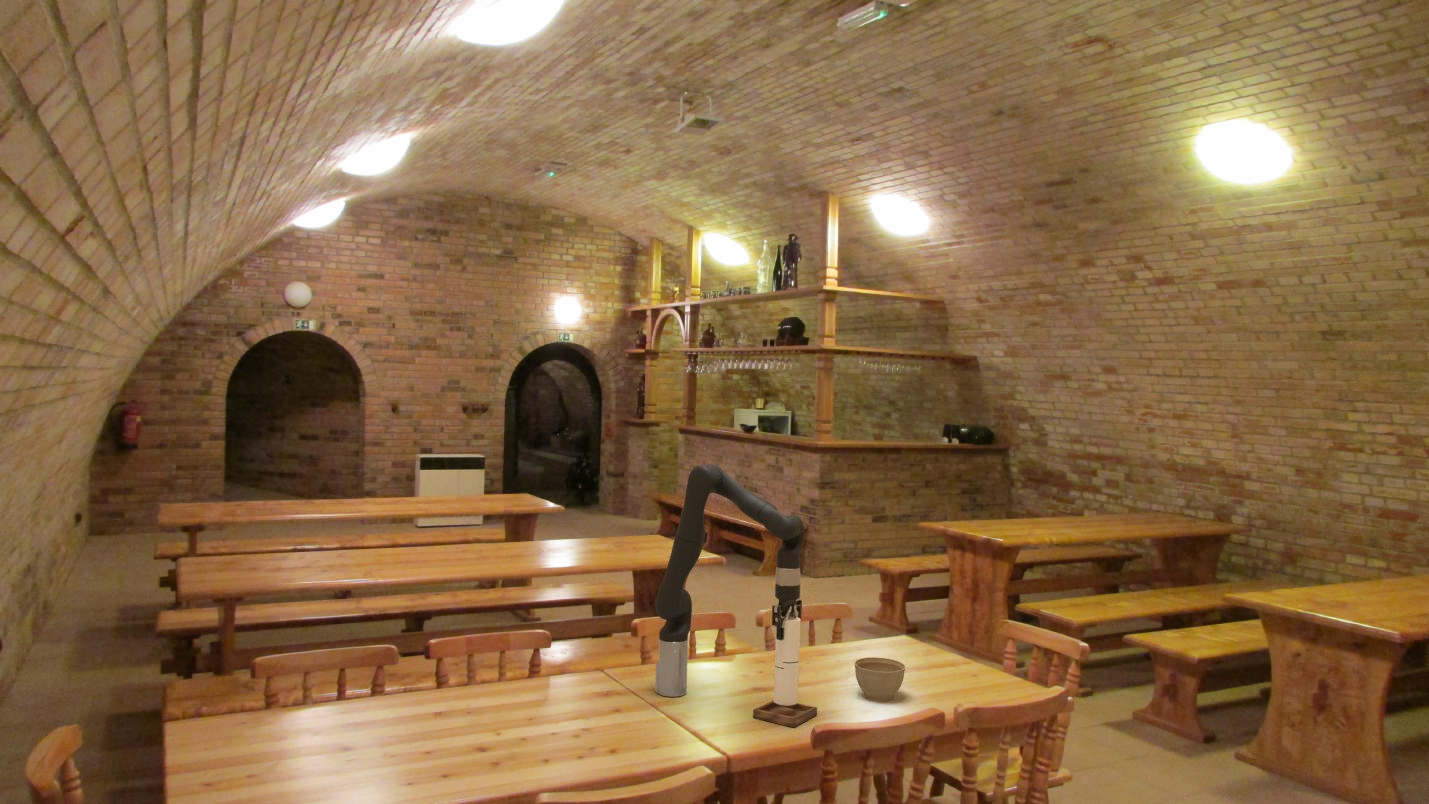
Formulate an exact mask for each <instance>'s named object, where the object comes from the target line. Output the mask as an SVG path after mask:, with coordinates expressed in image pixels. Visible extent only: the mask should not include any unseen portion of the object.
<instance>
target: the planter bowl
mask: <svg viewBox="0 0 1429 804" xmlns="http://www.w3.org/2000/svg"><path fill="white" fill-rule="evenodd" d="M854 668H855V670H854V671H855V677H856V680H857V681H856V682H857V683H858V687H859V688H860V690H861V691H862V692H863V697H865V698H866V699H868V700H869V701H870V700H871V701H875V702H890V701H892V700H894V699H895V695H897V693H898V691H899V690H900V688H901V687H902V684H903V681H904V676H905V671H906V665H905V664H904V663H903V662H901V661H898V660H895V659H892V658H886V657H876V656H872V657H862V658H861V657H860V658H858V659H856V660H855V661H854Z"/></svg>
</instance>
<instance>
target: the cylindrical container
mask: <svg viewBox="0 0 1429 804" xmlns="http://www.w3.org/2000/svg"><path fill="white" fill-rule="evenodd" d="M801 620H802V618H801V619H800V618H798V617H790V616H789V617H788V620H787V621H785V625H784V639H783V640H777V639H776V638H775V652H774V653H775V654H774V655H775V656H774V680H773V681H774V682H773V700H772V701H774V703H776V704H779V705H795V704H797V703H798V689H799V667H800V666H799V664H800V641H801V640H800V639H801V622H802V621H801ZM781 623H782V620H781ZM775 628H776V627H775ZM776 629H777V628H776ZM776 629H775V630H776Z"/></svg>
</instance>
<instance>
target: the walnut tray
mask: <svg viewBox="0 0 1429 804" xmlns="http://www.w3.org/2000/svg"><path fill="white" fill-rule="evenodd" d="M816 715H817V716H818V707H817V706H813V705H808V704H804V703H799V702H797V704H795V705H779V704H776V703H774V701H773V700H771V701H769V702H767V703H765V704H763V705H760V706H759V707H756V708H754V709H753V711H752V718H753V719H757V720H759V719H760V720H761V721H764V720H766V721H765V722H768V721H769V723H774V724H778V725H782V726H786V727H791V728H796V727H798V726H799V725H802V724H803V722H804V723H805V721H806V722H807V720H808V721H810V720H811V719H813V718H814V717H813V716H815V717H817V716H816ZM812 717H813V718H812ZM809 719H810V720H809ZM801 723H802V724H801Z"/></svg>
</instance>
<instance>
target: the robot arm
mask: <svg viewBox="0 0 1429 804" xmlns="http://www.w3.org/2000/svg"><path fill="white" fill-rule="evenodd" d="M686 483H687V484H686V489H685V496H684V503H683V507H682V511H681V513H680V514H681V515H680V519H679V522H678V527H677V529H676V533H675V536H674V539H673V542H672V543H673V544H672V548H671V552H670V556H669V559H668V563H667V567H666V570H665V574H664V577H663V580H662V581H661V584H660V587H659V590H658V592H657V594H656V597H655V598H656V599H655V603H654V606H655V612H656V614H657V615H658V617H659V618H660V619H661V620H665V622H664V625H663V626H662V627H661V628H660V630H659V633H658V638H659V639H658V661H657V662H655V683H654V684H655V686H654V687H655V689H654V690H655V693H657V694H658V695H660V696H662V697H671V698H673V697H675V698H676V697H682V696H685V695H686V694H687V693H688V691H687V688H688V652H689V651H688V647H689V646H688V645H689V644H688V643H689V633H690V631H691V626H692V625H691V624H692V613H693V611H692V610H693V602H692V597H691V595H690V593H689V592H688V590H687V589H685V588H684V585H685V582H686V579H687V578H688V576H689V575H690V573H691V571H692V569H693V568H694V566H695V565H696V564H697V562H698V560H699V558H700V556H701V553H702V549H703V547H704V542H705V540H706V539H705V538H706V526H705V525H706V524H705V517H704V515H705V508H706V504H707V501H708V498H709V497H710V496H709V495H710V494H716V495H719V496H721V497H724V498H726V499H728V500H729V501H730V502H732V503H733V504H734V505H735V506H736V507H737V508H738V509H739V511H741V512H742V513H743V514H744V515H746V517H748V518H750V520H751V519H752V520H754V521H755V522H756V523H758V524H760V525H762V526H763V527H764V528H765V529H766V530H767V531H768V532H770V534H771V535H773V536H775V537H776V538H778V539H780V540H781V541H782V542H781V546H779V548H778V549H777V551H776V569H775V577H774V578H775V586H774V589H775V590H774V597H775V598H776V599H777V600H778V602H777V605H772V606H771V607H772V608H771V613H772V614H771V626H774V627H775V628H777V629H775V631H776V632H775V640H776V639H777V640H783V639H784V625H785V621H787V620H788V617H789V616H790V617H798V618H800V619H801V620H802V610H803V609H802V608H803V600H802V599H800V598H801V579H802V577H801V551H802V547H803V543H804V537H805V525H804V521H803V520H802V518H801V517H800V516H798V515H794V514H791V515H784V514H782V513H781V512H779V511H778V508H777V507H776V506H775V505H774V504H773V503H771V502H769V501H768V500H766V499H764V498H763V497H761V496H759V495H757V494H756V493H754V492H752V491H751V490H749V489H748V488H746V487H745V486H744V485H742V484H741V483H739V482H737V480H735V479H734V478H733V477H732V476H731V475H729V474H728V473H727V472H726V471H725V470H723V469H722V468H721V467H719V466H718V465H716V464H711V463H710V464H709V463H708V464H699V465H696V466H695V467H693V468H692V469H691V470H690V472H689V475H688V478H687V482H686ZM781 620H782V623H781Z"/></svg>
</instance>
